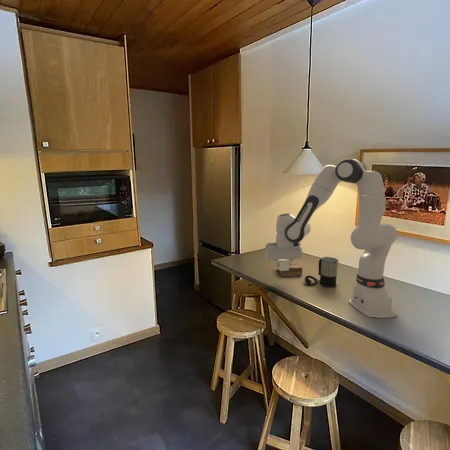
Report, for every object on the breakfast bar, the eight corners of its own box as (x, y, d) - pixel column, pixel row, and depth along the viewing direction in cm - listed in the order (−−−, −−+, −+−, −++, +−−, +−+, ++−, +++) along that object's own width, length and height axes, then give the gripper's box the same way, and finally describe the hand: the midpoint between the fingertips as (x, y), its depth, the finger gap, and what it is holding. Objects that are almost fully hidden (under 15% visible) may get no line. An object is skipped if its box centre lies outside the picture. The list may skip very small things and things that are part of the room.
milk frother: (340, 285, 175) (342, 260, 172) (319, 291, 167) (321, 265, 164) (320, 277, 187) (322, 253, 184) (300, 282, 179) (302, 257, 176)
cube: (288, 270, 175) (289, 261, 175) (279, 270, 175) (280, 262, 174) (286, 267, 180) (286, 259, 179) (278, 267, 180) (278, 259, 179)
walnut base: (302, 275, 190) (302, 267, 189) (282, 276, 189) (282, 268, 188) (296, 268, 201) (297, 261, 200) (278, 269, 201) (278, 261, 200)
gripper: (266, 244, 171) (266, 268, 174) (303, 243, 172) (302, 267, 175) (264, 241, 178) (264, 265, 180) (300, 240, 179) (299, 264, 181)
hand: (283, 266), depth 178 cm, fingers closed on cube, 5 cm apart
